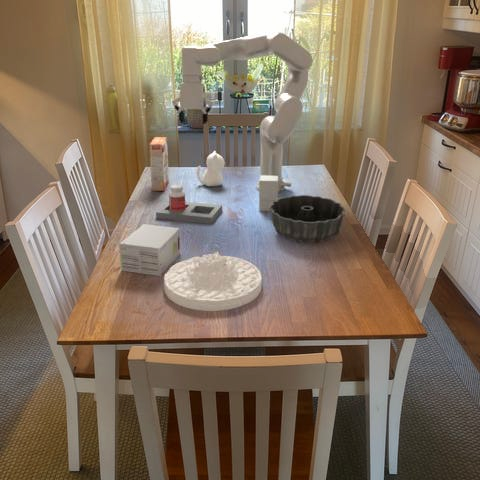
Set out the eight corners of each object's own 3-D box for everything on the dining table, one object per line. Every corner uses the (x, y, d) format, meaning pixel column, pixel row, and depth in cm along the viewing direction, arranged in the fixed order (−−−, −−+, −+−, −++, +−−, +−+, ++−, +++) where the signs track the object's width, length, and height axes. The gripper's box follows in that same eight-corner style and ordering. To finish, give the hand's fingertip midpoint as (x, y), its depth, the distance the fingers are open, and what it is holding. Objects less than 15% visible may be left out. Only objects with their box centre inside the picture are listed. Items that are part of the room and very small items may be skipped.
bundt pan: (347, 250, 175) (350, 222, 171) (268, 248, 176) (269, 220, 172) (339, 221, 199) (341, 196, 195) (269, 219, 200) (270, 194, 196)
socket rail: (222, 211, 208) (222, 205, 207) (211, 223, 195) (211, 217, 194) (169, 206, 212) (169, 200, 211) (156, 218, 200) (155, 212, 199)
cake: (210, 257, 170) (209, 229, 166) (280, 283, 154) (281, 254, 150) (143, 289, 150) (141, 259, 147) (217, 324, 134) (216, 291, 130)
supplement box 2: (277, 205, 214) (278, 175, 209) (277, 211, 207) (278, 181, 202) (259, 204, 215) (260, 174, 210) (258, 211, 208) (259, 180, 203)
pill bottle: (188, 214, 204) (187, 187, 200) (174, 217, 201) (173, 189, 197) (181, 209, 209) (179, 182, 204) (167, 212, 206) (165, 185, 201)
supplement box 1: (160, 277, 157) (159, 248, 153) (120, 271, 160) (118, 243, 156) (181, 253, 172) (180, 227, 168) (144, 249, 175) (142, 222, 171)
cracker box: (165, 191, 229) (162, 144, 221) (151, 191, 229) (148, 144, 221) (169, 181, 242) (167, 136, 234) (156, 181, 242) (154, 136, 234)
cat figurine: (225, 187, 235) (225, 154, 229) (197, 188, 233) (196, 155, 227) (223, 181, 243) (223, 149, 237) (196, 182, 242) (195, 150, 236)
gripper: (215, 79, 210) (216, 122, 216) (174, 77, 213) (176, 120, 220) (210, 81, 203) (211, 125, 210) (168, 79, 207) (170, 123, 214)
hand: (193, 122), depth 215 cm, fingers open, 9 cm apart
